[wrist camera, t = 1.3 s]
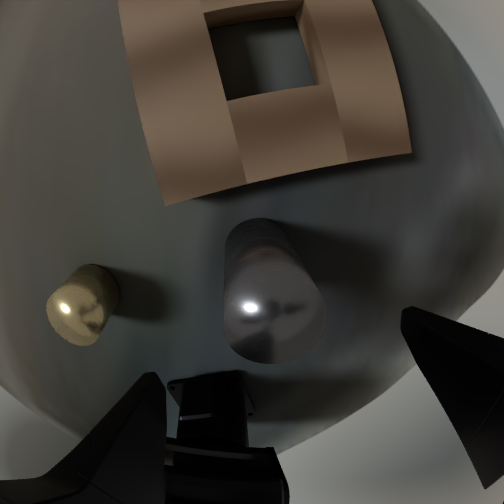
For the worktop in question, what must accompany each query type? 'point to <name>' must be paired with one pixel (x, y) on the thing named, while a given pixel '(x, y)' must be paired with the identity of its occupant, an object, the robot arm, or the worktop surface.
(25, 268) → the worktop surface
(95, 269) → the short pin
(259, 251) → the tall pin
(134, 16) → the hole plate
